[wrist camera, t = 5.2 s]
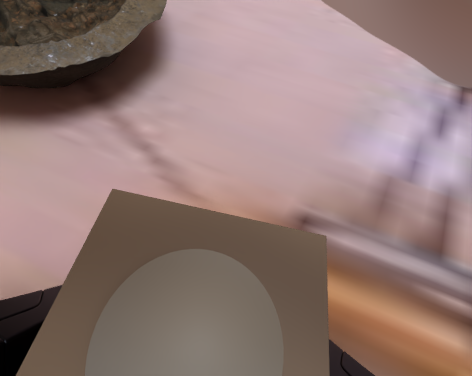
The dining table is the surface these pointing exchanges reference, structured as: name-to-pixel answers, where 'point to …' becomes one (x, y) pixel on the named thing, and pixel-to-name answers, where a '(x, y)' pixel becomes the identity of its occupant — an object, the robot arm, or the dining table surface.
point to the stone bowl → (67, 37)
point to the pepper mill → (187, 297)
